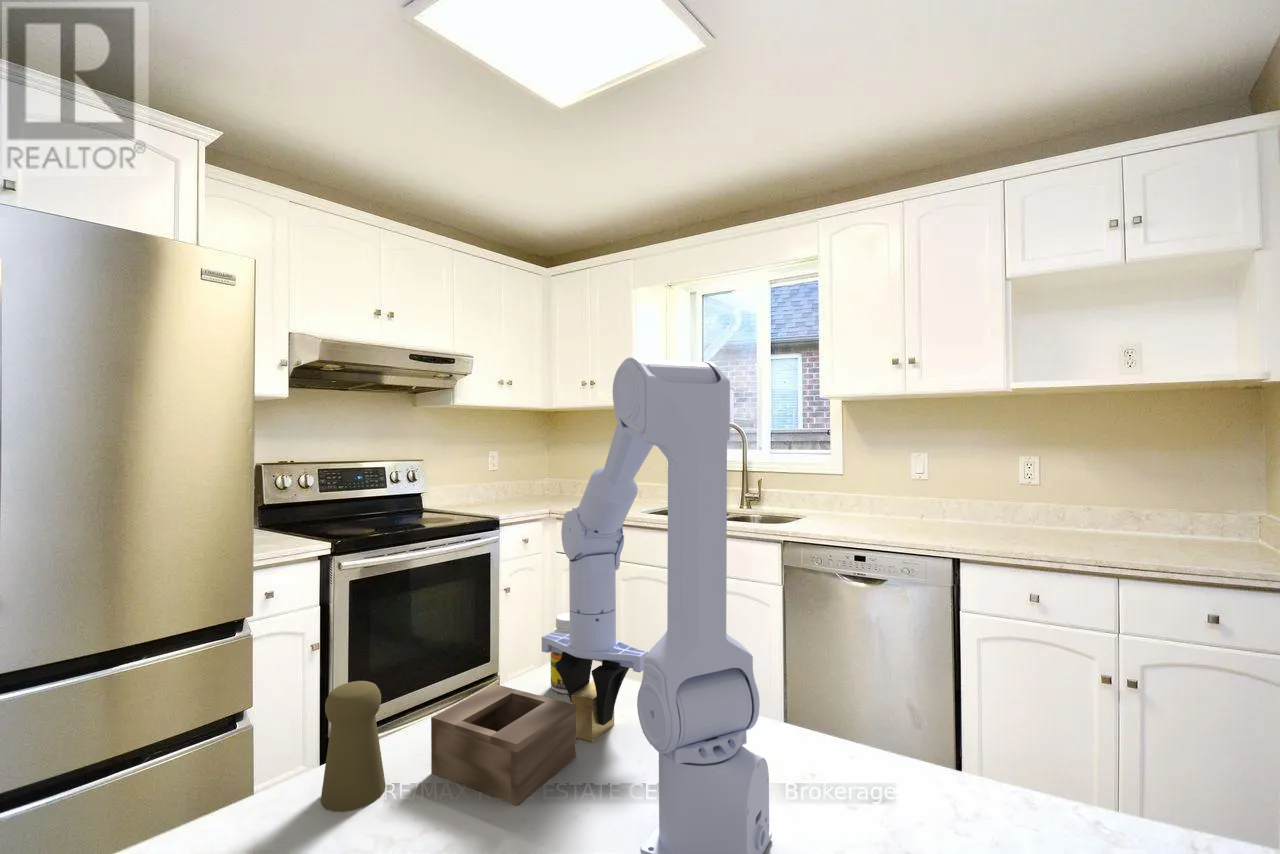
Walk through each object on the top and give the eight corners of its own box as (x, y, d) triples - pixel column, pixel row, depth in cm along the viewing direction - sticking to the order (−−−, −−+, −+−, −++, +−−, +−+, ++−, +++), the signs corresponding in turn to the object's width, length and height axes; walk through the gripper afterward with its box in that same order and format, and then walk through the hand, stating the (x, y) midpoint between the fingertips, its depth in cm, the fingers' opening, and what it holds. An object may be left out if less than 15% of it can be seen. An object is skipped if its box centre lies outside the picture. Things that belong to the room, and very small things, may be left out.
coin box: (576, 758, 70) (575, 704, 70) (517, 805, 61) (516, 744, 61) (495, 733, 75) (495, 684, 76) (431, 773, 67) (431, 717, 67)
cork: (361, 815, 60) (360, 700, 60) (306, 807, 61) (306, 695, 61) (397, 780, 65) (397, 676, 65) (347, 774, 67) (347, 672, 67)
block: (614, 724, 78) (614, 684, 78) (592, 741, 73) (591, 699, 73) (594, 718, 79) (594, 679, 79) (571, 735, 75) (571, 694, 75)
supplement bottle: (545, 684, 90) (544, 613, 90) (580, 676, 93) (580, 608, 93) (558, 698, 85) (558, 624, 85) (595, 690, 88) (595, 618, 88)
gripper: (659, 607, 76) (660, 718, 76) (564, 593, 83) (564, 694, 83) (631, 623, 70) (631, 743, 70) (530, 606, 77) (531, 715, 77)
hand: (593, 718), depth 76 cm, fingers closed on block, 3 cm apart
